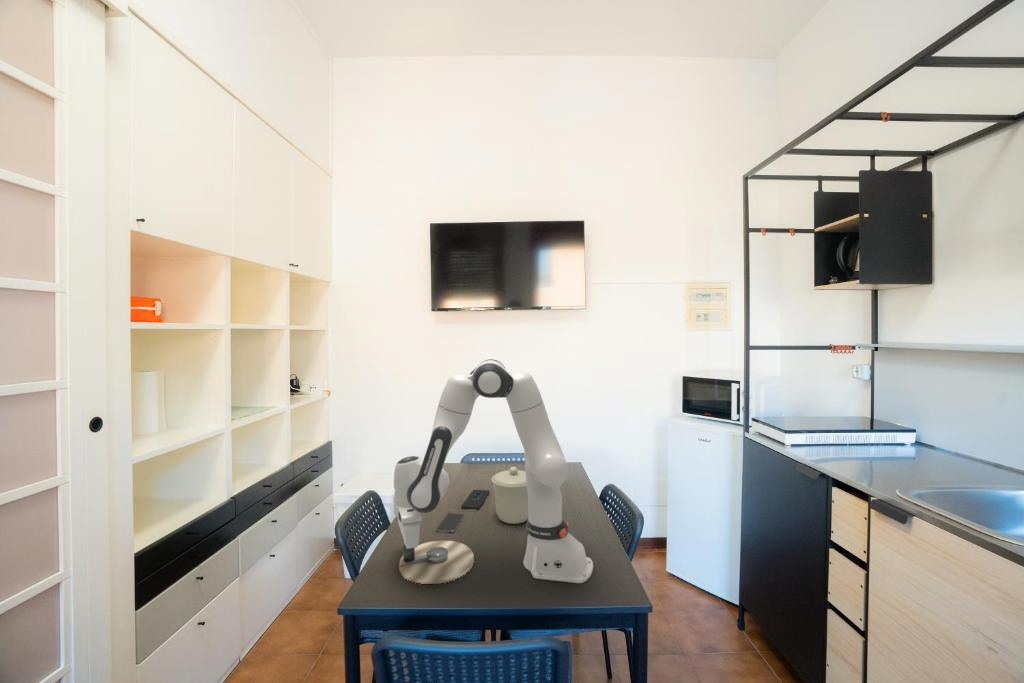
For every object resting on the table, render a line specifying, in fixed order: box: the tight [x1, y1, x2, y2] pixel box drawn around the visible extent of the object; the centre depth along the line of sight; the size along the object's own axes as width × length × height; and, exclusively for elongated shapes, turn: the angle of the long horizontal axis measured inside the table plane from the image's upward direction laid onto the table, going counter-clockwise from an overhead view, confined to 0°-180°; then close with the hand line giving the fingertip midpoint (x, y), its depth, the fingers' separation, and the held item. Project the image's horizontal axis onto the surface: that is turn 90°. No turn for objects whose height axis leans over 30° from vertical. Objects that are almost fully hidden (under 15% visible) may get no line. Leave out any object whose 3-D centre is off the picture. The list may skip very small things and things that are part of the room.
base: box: [398, 540, 475, 585], centre depth 136 cm, size 24×24×2 cm
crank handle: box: [402, 543, 448, 565], centre depth 135 cm, size 14×7×6 cm, turn 108°
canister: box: [490, 466, 528, 525], centre depth 169 cm, size 18×18×21 cm
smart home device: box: [461, 489, 490, 511], centre depth 188 cm, size 8×2×20 cm
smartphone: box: [435, 512, 465, 533], centre depth 165 cm, size 7×1×16 cm
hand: (407, 548), depth 136 cm, fingers closed
